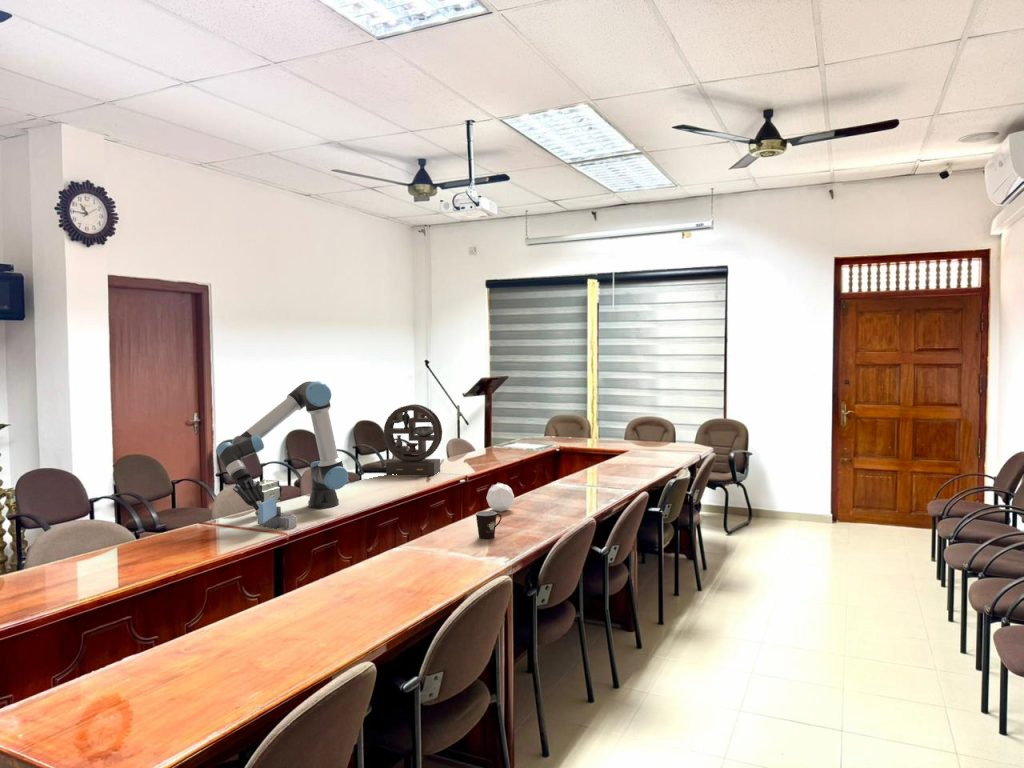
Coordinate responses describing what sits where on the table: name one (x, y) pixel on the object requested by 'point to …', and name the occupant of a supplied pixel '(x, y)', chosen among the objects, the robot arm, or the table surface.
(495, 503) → the geodesic sphere
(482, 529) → the coffee mug
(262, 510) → the lever
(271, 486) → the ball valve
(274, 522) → the valve body
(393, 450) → the round curio shelf
